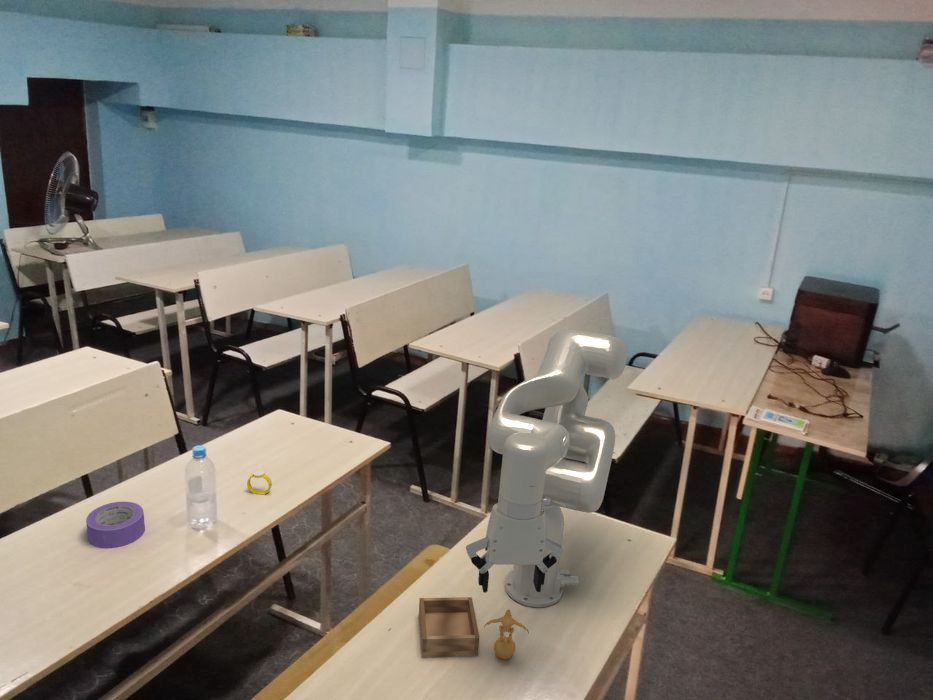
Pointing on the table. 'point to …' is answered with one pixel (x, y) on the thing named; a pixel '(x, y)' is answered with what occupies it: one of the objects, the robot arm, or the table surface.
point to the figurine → (505, 644)
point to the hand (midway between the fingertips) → (510, 587)
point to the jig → (448, 627)
